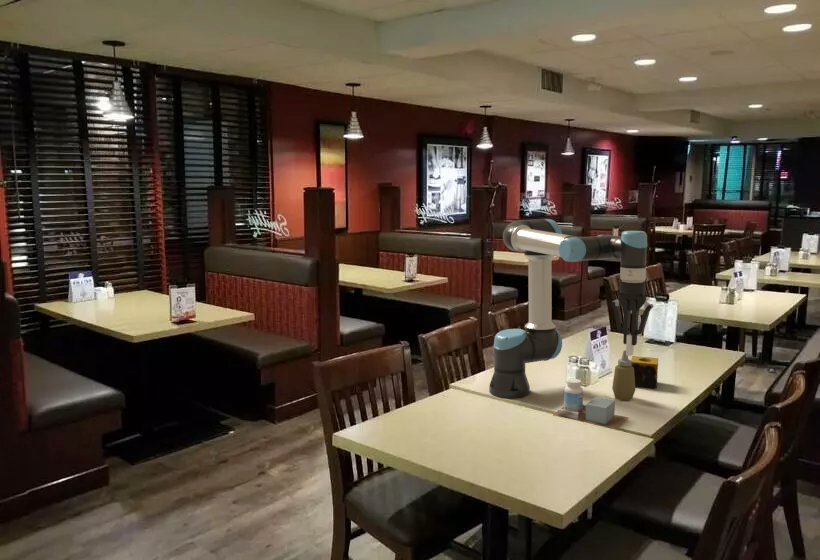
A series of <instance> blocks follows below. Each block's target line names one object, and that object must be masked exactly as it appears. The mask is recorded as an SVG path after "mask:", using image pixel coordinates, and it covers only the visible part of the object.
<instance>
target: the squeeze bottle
mask: <svg viewBox="0 0 820 560" xmlns="http://www.w3.org/2000/svg"><path fill="white" fill-rule="evenodd" d="M631 363H632V361H631V359H629V356H628V355H626V349H624V350H623V351H622V355H621V358H619V359H618V360H617V365H616V366H615V367H614V374H613V381H612V387H611V388H612V391H613V396H614V398H615V399H616V400H619V401H624V402H625V401H627V402H629V401H632V400H633V397H634V396H635V392H636V387H635V376H634V367H632V366H631Z"/></svg>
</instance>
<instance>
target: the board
mask: <svg viewBox="0 0 820 560" xmlns="http://www.w3.org/2000/svg"><path fill="white" fill-rule="evenodd" d="M586 404H587V403H583V411H582V414H580V415H579V412H574V411H569V410H564V406H563V407H561V408H558V409H557V410H556V412H554V413H553V414H552V416H553V417H559V418H562V419H563V418H564V419H569V420H572V421H577V422H582V423H586V424H592V425H596V426H601V427H605V428H611V429H614V430H615V429H616V430H619V429H620V427H622V426H623V425H624V424H625V423H626V422H627V421H628V420H629V419H630V417H628V416H623V415H618V414H615V415H614V417H613V418H612V419H611V420H609V421H608V422H607V423H606V424H602V423H597V422H592V421H587V420H586Z"/></svg>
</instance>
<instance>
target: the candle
mask: <svg viewBox="0 0 820 560" xmlns="http://www.w3.org/2000/svg"><path fill="white" fill-rule="evenodd" d="M630 360H631V361H632V363H631V366H632V367H634V376H635V388H640V389H649V390H657V387H658V369H659V357H650V356H640V355H639V356H638V355H637V356H636V355H631V359H630Z"/></svg>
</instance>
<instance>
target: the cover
mask: <svg viewBox="0 0 820 560" xmlns="http://www.w3.org/2000/svg"><path fill="white" fill-rule="evenodd" d="M585 404H586V420H587V421H592V422H597V423H602V424H606V423H607V422H608V421H609V420H611V419H612V418H613V417H614V415H616V414H615V411H616V400H615V399H609V398H604V397H601V396H600V397H599V396H595V397H594V398H592V399H591V400H590V401H588V402H587V403H585Z"/></svg>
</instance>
